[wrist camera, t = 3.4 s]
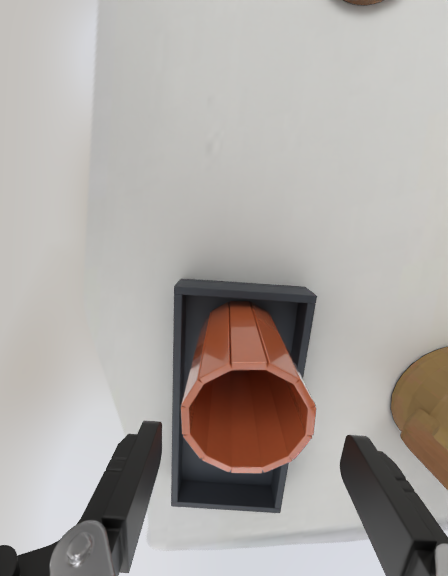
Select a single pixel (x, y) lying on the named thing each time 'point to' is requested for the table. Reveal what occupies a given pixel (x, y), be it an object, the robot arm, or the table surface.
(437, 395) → the lantern
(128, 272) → the table surface
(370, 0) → the coaster
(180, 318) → the tray
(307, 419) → the cup
